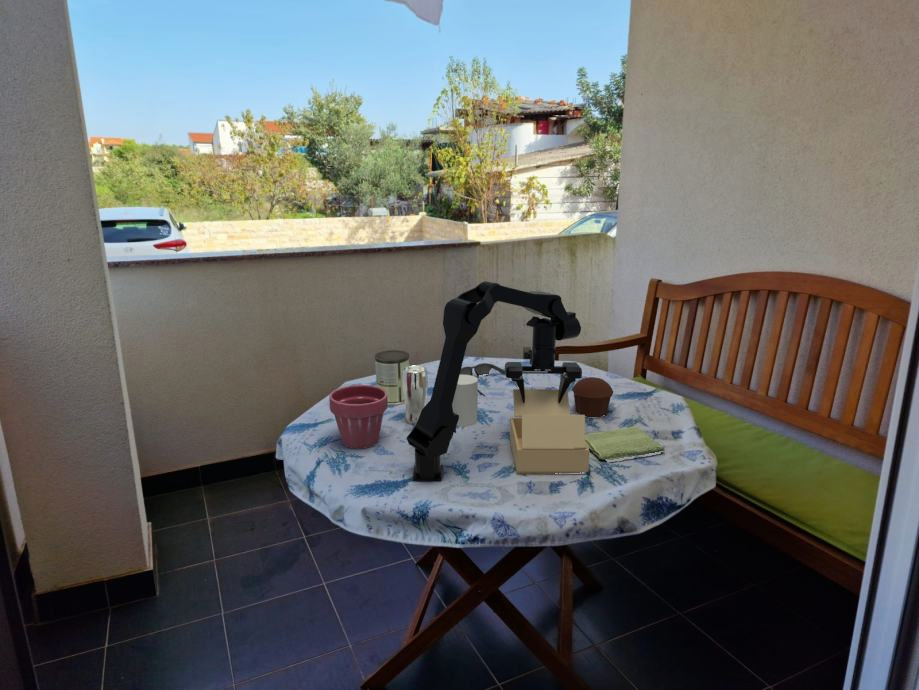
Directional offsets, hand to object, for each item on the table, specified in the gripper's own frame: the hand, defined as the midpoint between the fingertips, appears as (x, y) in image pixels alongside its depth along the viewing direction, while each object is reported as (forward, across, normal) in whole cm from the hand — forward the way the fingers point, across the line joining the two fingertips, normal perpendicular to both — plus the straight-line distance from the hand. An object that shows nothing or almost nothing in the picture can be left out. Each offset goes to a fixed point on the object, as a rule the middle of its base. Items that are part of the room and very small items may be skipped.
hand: (541, 402), depth 141 cm
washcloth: (+10, -19, +6) cm, 23 cm away
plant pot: (+10, +46, +2) cm, 47 cm away
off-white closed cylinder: (+9, +20, -11) cm, 24 cm away
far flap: (0, 0, 0) cm, 0 cm away
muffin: (+9, -17, -17) cm, 26 cm away
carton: (+10, 0, +10) cm, 14 cm away
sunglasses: (+8, +12, -39) cm, 42 cm away
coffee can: (+9, +41, -26) cm, 50 cm away
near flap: (0, 0, +18) cm, 18 cm away
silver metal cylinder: (+9, +33, -10) cm, 36 cm away
